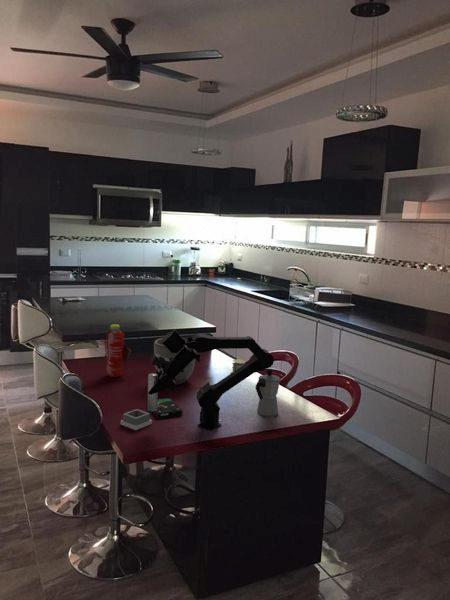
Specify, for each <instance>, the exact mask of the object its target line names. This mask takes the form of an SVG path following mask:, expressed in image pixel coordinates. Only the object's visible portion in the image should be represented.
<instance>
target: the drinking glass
mask: <svg viewBox="0 0 450 600" xmlns="http://www.w3.org/2000/svg"><path fill="white" fill-rule="evenodd" d="M157 375H158V374H156V372H155V373H153V372H151V373H148V376H147V380H148V381H147V384H148V385H147V402H148V406H147V411H148V412H152V411H156V410H157V400H158V394H159V392H157V393H154V394H151V395H150V394H149V393H148V392H149V391H150V389H151V388H152V387H153V385H154V384H155V383H156V382H157Z"/></svg>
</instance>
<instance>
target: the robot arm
mask: <svg viewBox="0 0 450 600" xmlns="http://www.w3.org/2000/svg"><path fill="white" fill-rule="evenodd" d="M162 338H163V339H162V340H161V343H162V344H163V345H164V346H165V347H166V348H167V349H168V350H169V351H170V352H171V353H177V354H176V355H175V356H174V357H170V358H169V359H167V358H165V357H163V356H161V355H159V354H157V353H153V355H152V357H151V359H150V363H151V365H154V366H155V365H156V367H157V368H159V370H157V369H156V368H155V374H158V375H157V382H156V383H155V384H154V385H153V387H152V388H151V389H150V391H149V392H148V391H147V394H148V393H149V394H150V395H151V394H154V393H157V392H158V393H160V392H163V391H166V390H170V391H171V392H173V391H174V390H175V389H176V388H177V384H176V383H175V380H176V376H177V375H178V374H179V373H181V372H182V373H183V372H184V369H185V368H186V367H187V366H188V365H189V364H190V363H191V362H192V361H193V360H194V359H195V361H196V362H198V363H201V354H202V353H208V352H212V351H213V350H218V349H219V350H223V349H226V350H227V349H228V350H230V349H232V350H233V349H235V350H237V349H238V350H239V349H240V350H241V349H243V350H244V349H248V350H249V351H250V352H251V353H252V355H251V356H250V357H249V359H248V361H246V362H245V363H244V365H243V366H241V367H240V368H238V369H237V370H235V371H232V372H231V373H229V374H228V375H227V376H225V377H224V378H222V379H220V380H219V381H218V382H216V383H214V384H211V383H210V382H207V383H205V384H204V385H203V386H201V387H199V389H198V391H197V392H196V395H195V396H196V401H197V403H198V405H199V407H200V412H199V423H197V427H200V428H203V429H207V430H210V431H212V430H215V429H216V428H218V427H220V426H222V423H220V410H221V408H220V406H219V404H218V402H219V400H220V399H221V397H222V396H223V395H224V394H225V393H227V392H228V391H230V390H231V389H232V388H234V387H235V386H237V385H238V384H240V383H241V382H243V381H244V380H246V379H247V378H249V377H250V376H251V375H253V374H255V373H259V372H263V371H264V370H267V369H270V368H271V367H272V366H273V364H274V362H275V358H274V356H273V354H272V353H271V352H269V351H268V350H267V349H265V348H262V347H261V346H260V345H259V344H258V343H257V342H256V340H255V339H254V338H253V337H252V336H250V335H249V336H213V335H209V334H204V333H195V334H194V335H192V336H188V337H182V335H180V334H179V333H178V331H177V329H175V328H174V329H173V330H172V331H170V332H168V333H166V334H165V335H164V337H162ZM184 344H185V345H186V346H187V347H188V348H190V349H188V348H187V347H186V346H185V345H184ZM183 347H184V348H183ZM182 348H183V349H182ZM181 349H182V350H181ZM193 349H194V350H195V351H196V352H195V351H194V350H193ZM180 350H181V351H180Z"/></svg>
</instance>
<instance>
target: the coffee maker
mask: <svg viewBox="0 0 450 600" xmlns="http://www.w3.org/2000/svg"><path fill="white" fill-rule="evenodd" d="M280 381H281V377H279V375H273V369H272V368H267V369H266V374H263V375H259V377H258V381H257V382H256V384H255V390H256V394H257V396H258V398H259V399H258V405H257V410H256V412H257V414H258V415H259V416H263V417H275V416H277V415H279V408H278V406H279V405H278V399H277V398H278V397H277V395H278V393H279V387H280Z"/></svg>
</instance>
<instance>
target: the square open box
mask: <svg viewBox="0 0 450 600" xmlns="http://www.w3.org/2000/svg"><path fill="white" fill-rule="evenodd" d="M152 423H153V420H152V419H151V413H150V412H147V411H144V410H141V409H138V408H136V409H132V410H130V411H127V412H125V413H122V419H121V420H120V425H121V426H123V427H126V428H129V429H132V430H134V431H138V430H141V429H142V428H146V427H147V426H150V425H152Z"/></svg>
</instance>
